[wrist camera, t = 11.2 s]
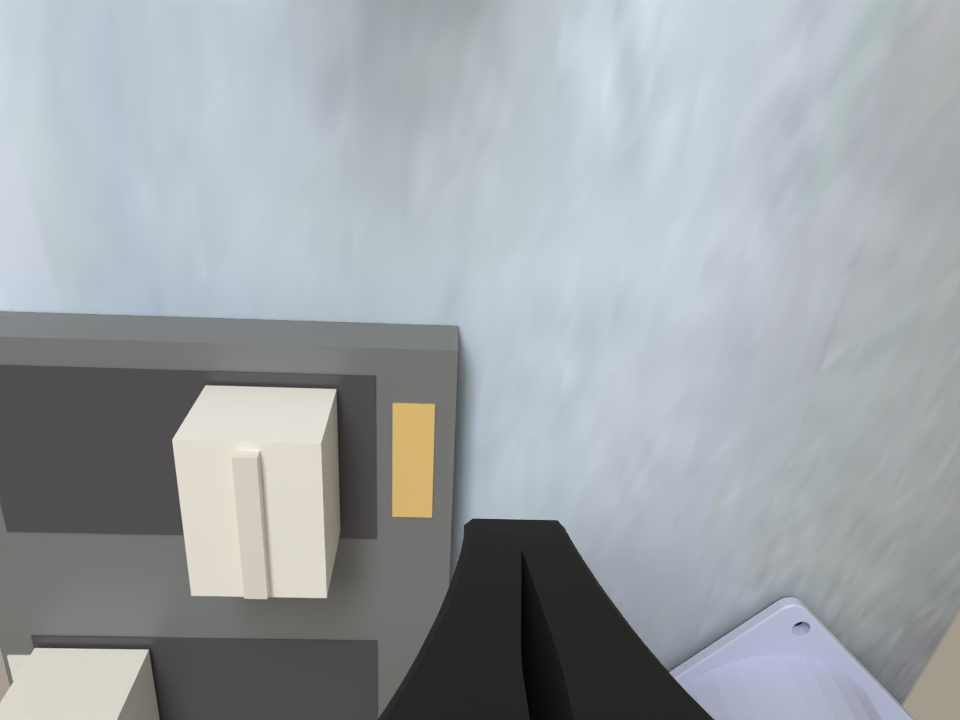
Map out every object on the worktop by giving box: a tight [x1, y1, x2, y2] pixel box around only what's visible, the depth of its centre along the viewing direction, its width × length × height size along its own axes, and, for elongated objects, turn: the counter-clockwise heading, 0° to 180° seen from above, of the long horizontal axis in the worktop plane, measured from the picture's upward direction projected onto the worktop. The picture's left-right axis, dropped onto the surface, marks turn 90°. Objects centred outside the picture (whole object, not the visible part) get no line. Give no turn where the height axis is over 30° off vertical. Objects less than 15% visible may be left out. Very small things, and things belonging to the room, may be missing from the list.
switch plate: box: [0, 311, 458, 720], centre depth 24 cm, size 22×12×2 cm, turn 177°
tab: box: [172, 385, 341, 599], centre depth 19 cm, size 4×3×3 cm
